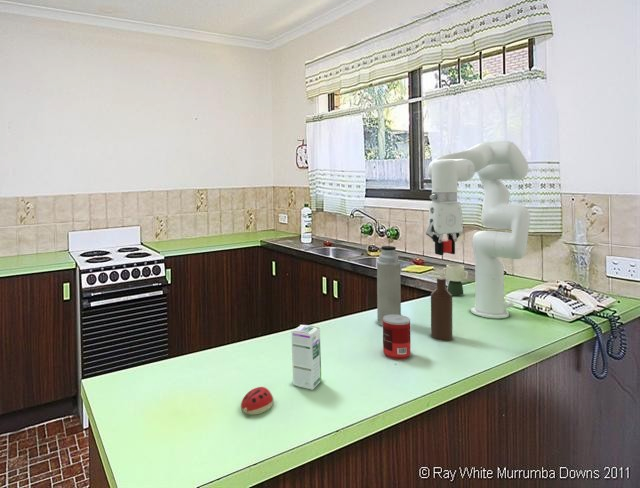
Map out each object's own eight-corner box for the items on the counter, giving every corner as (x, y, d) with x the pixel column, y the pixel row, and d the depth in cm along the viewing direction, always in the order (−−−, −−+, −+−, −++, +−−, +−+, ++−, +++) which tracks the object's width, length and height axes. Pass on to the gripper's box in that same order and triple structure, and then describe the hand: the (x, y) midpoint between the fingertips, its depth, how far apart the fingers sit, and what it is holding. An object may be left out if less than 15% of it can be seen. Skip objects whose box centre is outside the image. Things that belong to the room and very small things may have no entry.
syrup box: (313, 390, 111) (312, 334, 111) (292, 385, 114) (291, 329, 114) (321, 381, 116) (320, 327, 116) (301, 376, 119) (300, 323, 119)
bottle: (442, 332, 149) (442, 275, 148) (456, 339, 143) (456, 279, 142) (426, 335, 147) (426, 277, 147) (440, 342, 141) (440, 281, 140)
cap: (440, 252, 141) (440, 241, 141) (436, 250, 145) (436, 239, 145) (453, 252, 141) (453, 241, 141) (449, 250, 145) (449, 239, 145)
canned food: (414, 353, 132) (414, 317, 132) (403, 362, 127) (403, 324, 126) (390, 347, 138) (389, 312, 137) (378, 355, 132) (378, 319, 131)
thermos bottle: (375, 319, 163) (374, 244, 162) (397, 320, 163) (396, 244, 162) (380, 327, 155) (379, 248, 154) (403, 327, 155) (402, 248, 154)
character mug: (472, 295, 191) (471, 266, 191) (464, 299, 187) (463, 268, 187) (447, 291, 200) (447, 262, 200) (439, 293, 196) (439, 264, 195)
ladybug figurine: (279, 401, 106) (279, 386, 106) (258, 421, 98) (258, 405, 98) (255, 394, 110) (255, 380, 110) (233, 412, 102) (233, 397, 102)
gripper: (430, 199, 137) (431, 258, 137) (474, 197, 141) (474, 254, 142) (414, 198, 144) (415, 254, 145) (457, 196, 148) (457, 250, 149)
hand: (444, 253), depth 143 cm, fingers closed on cap, 3 cm apart
